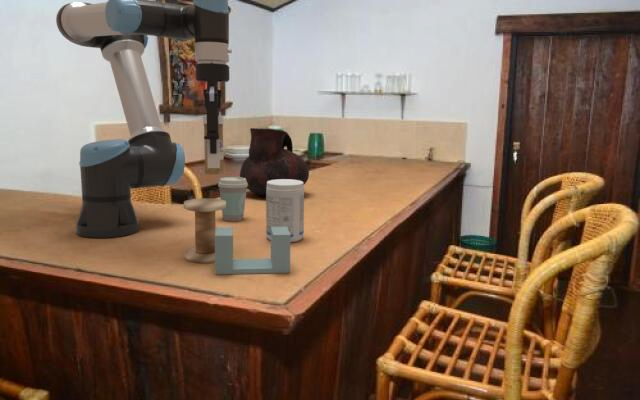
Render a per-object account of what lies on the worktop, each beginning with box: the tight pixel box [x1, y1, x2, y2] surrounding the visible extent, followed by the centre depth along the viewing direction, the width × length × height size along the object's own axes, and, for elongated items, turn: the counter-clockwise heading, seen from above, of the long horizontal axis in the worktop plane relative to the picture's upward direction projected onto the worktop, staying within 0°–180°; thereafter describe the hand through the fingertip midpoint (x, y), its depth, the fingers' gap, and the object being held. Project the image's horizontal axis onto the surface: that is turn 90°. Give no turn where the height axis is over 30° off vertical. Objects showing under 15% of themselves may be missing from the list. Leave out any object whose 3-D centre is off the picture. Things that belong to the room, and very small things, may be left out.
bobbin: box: [183, 197, 226, 264], centre depth 117 cm, size 9×9×12 cm
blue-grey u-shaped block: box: [214, 226, 291, 275], centre depth 111 cm, size 15×7×8 cm, turn 99°
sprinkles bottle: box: [202, 115, 225, 176], centre depth 123 cm, size 5×5×14 cm
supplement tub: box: [265, 179, 305, 243], centre depth 135 cm, size 10×10×15 cm
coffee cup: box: [217, 176, 248, 222], centre depth 155 cm, size 8×8×12 cm
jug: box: [239, 127, 310, 198], centre depth 195 cm, size 25×25×25 cm
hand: (214, 166), depth 124 cm, fingers closed on sprinkles bottle, 4 cm apart
